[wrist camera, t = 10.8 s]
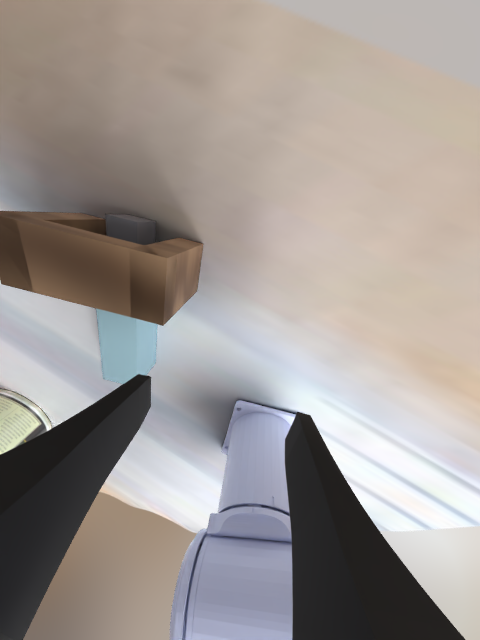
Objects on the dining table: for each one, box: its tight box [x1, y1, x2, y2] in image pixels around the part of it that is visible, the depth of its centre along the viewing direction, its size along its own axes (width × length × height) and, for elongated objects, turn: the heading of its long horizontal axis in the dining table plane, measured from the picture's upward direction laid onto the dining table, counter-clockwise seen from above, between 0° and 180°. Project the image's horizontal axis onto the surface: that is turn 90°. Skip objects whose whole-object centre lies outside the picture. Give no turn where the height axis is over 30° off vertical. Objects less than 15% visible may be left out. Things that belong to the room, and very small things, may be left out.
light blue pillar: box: [96, 214, 157, 384], centre depth 18 cm, size 14×3×4 cm, turn 167°
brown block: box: [0, 211, 203, 326], centre depth 15 cm, size 4×10×7 cm, turn 77°
